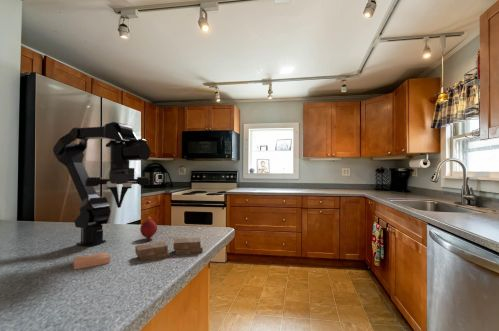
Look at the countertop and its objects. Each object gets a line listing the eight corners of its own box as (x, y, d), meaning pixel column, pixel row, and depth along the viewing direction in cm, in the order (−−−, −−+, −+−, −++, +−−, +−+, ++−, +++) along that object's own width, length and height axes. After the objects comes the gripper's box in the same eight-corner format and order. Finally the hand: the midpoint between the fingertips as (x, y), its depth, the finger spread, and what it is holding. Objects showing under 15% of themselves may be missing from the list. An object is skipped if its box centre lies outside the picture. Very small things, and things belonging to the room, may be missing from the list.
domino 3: (173, 242, 77) (200, 241, 79) (174, 238, 82) (200, 237, 84) (173, 249, 77) (200, 248, 79) (174, 244, 82) (200, 243, 84)
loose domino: (74, 263, 65) (109, 257, 70) (73, 257, 69) (107, 252, 74) (74, 271, 65) (109, 264, 70) (73, 265, 69) (107, 259, 74)
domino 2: (140, 256, 72) (169, 253, 75) (139, 251, 76) (167, 248, 79) (139, 263, 72) (169, 259, 75) (139, 258, 76) (167, 254, 79)
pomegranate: (151, 241, 92) (151, 218, 92) (136, 240, 93) (137, 218, 93) (159, 237, 98) (160, 216, 98) (146, 236, 99) (146, 215, 99)
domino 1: (138, 250, 71) (167, 245, 75) (135, 245, 75) (163, 241, 79) (138, 257, 71) (167, 252, 75) (135, 252, 75) (163, 248, 79)
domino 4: (176, 250, 77) (202, 247, 80) (174, 245, 81) (199, 243, 84) (175, 257, 77) (202, 254, 80) (174, 252, 81) (199, 249, 84)
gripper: (83, 158, 74) (82, 212, 74) (151, 160, 82) (151, 209, 82) (88, 160, 84) (87, 207, 84) (149, 161, 92) (148, 205, 92)
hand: (119, 207), depth 85 cm, fingers closed
